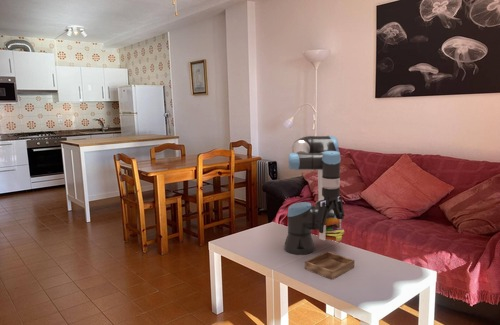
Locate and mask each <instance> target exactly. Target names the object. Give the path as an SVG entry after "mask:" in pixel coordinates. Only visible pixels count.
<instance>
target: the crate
mask: <svg viewBox="0 0 500 325" xmlns="http://www.w3.org/2000/svg"><path fill="white" fill-rule="evenodd" d="M354 268H355V259H352V258H349V257H347V256H343V255H339V254H336V253H334V252H330V251H325V252H323V253H320V254H318V255H317V256H314V257H312V258H309V259H308V260H306V261H304V269H305V270H306V271H309V272H311V271H312V273H314V274H318V275H319V274H320V275H319V276H322V275H323V276H322V277H324V276H325V278H327V279H329V278H330V279H329V280H332V279H333V280H334V278H335V279H336V278H338V277H339V276H342V275H343V274H345V273H347V272H350V270H352V269H354Z"/></svg>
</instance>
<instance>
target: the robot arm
mask: <svg viewBox="0 0 500 325" xmlns="http://www.w3.org/2000/svg"><path fill="white" fill-rule="evenodd" d="M291 151H292V152H290V153H289V154H288V168H289V169H290V170H295V171H298V170H301V171H302V170H303V171H304V170H311V171H312V170H316V171H317V191H318V192H317V193H318V194H317V195H318V196H317V197H318V200H317V201H316V202H315V205H312V203H311V202H308V201H307V202H306V201H304V202H303V201H301V202H296V203H292V204H291V205H289V206H288V208H287V236H286V239H285V242H284V248H283V249H284V250H285V251H286V252H287V253H289V254H292V255H293V254H294V255H309V254H311V253H313V252H314V251H315V248H316V247H315V242H314V239H313V235H312V230H313V231H318V233H319V234H318V240H322V241H326V239H325V235H326V225H324V224H325V221H326V219H327V218H337V219H339V221H340V222H341V223H340V224H338V225H341V226H340V227H339V228H342V221H343V220H344V219H345V218H344V217H345V211H344V206H343V196H341V194H340V193H341V188H340V187H341V179H340V178H341V160H342V159H341V152H340V149H339V142H338V138H337V137H336V136H333V135H317V136H316V135H312V136H311V135H309V136H307V135H306V136H303V137H300V138H298V139H297V140H295V141H294V142H293V144H292V146H291ZM338 225H336V226H338Z"/></svg>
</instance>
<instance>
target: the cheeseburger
mask: <svg viewBox="0 0 500 325" xmlns="http://www.w3.org/2000/svg"><path fill="white" fill-rule="evenodd" d="M340 223H341V225H338V224H340ZM324 225H326V235H325V240H328V241H336V242H340V241H342V239H343V238H344V234H345V229H343V228H342V221H341V222H340V221H339V219H337V218H327V219H326V221H325V224H324ZM336 225H338V226H336ZM340 226H341V228H339V227H340Z"/></svg>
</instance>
